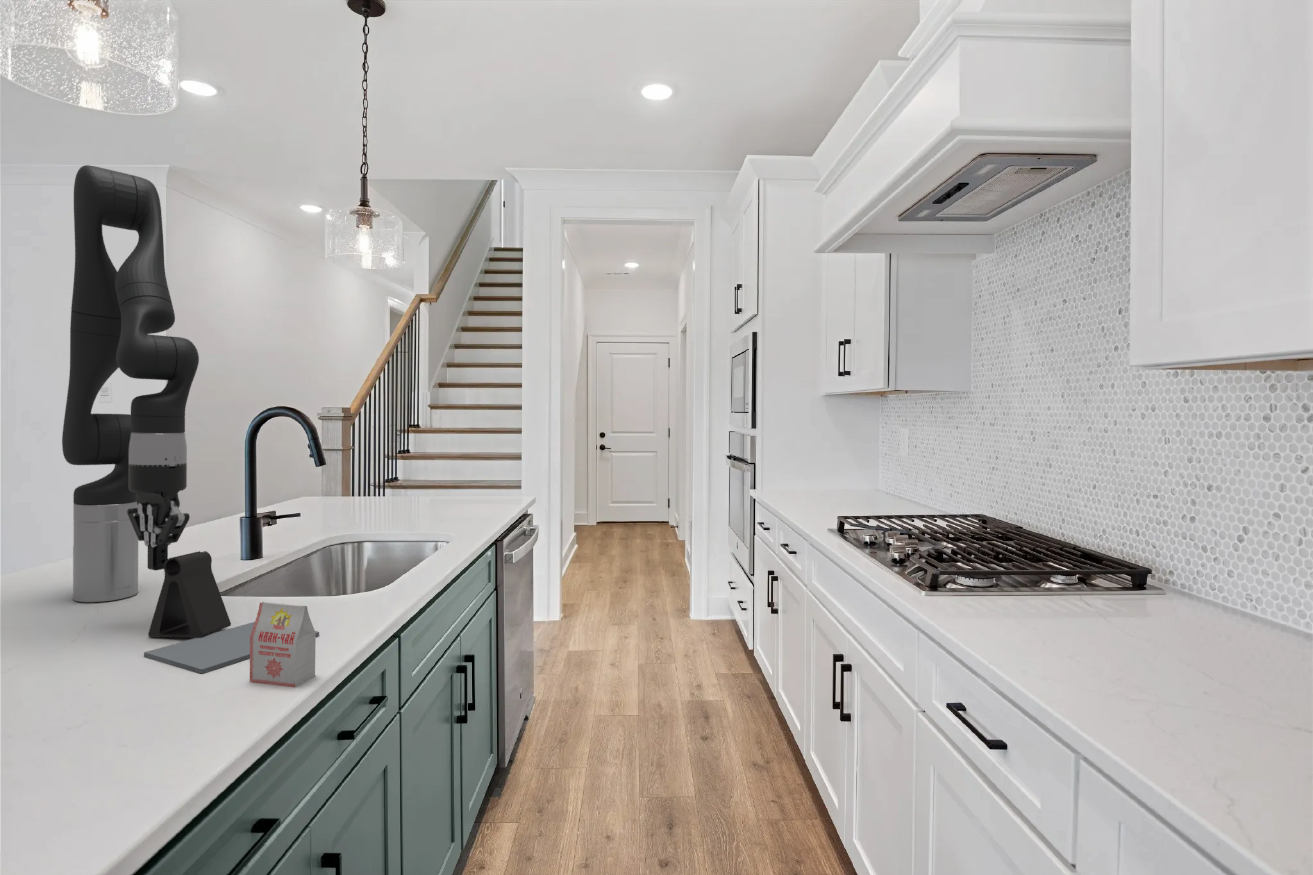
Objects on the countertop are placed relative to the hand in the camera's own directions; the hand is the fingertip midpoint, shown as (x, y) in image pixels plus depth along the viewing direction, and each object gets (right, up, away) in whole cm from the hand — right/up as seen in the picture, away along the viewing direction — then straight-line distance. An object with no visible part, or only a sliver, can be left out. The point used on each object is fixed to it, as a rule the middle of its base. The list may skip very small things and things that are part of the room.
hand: (157, 568), depth 110 cm
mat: (+17, -10, -8) cm, 21 cm away
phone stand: (+7, -9, -3) cm, 12 cm away
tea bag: (+31, -11, -20) cm, 38 cm away
